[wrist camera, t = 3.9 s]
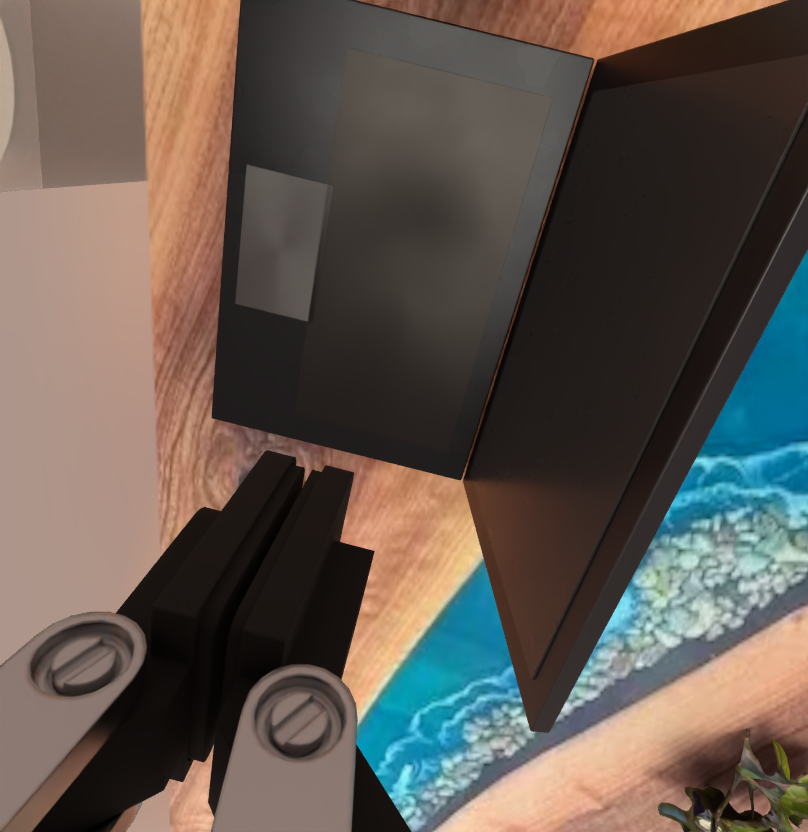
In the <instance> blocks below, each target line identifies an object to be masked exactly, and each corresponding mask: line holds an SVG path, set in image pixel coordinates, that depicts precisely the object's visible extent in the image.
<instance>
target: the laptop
mask: <svg viewBox="0 0 808 832" xmlns="http://www.w3.org/2000/svg"><path fill="white" fill-rule="evenodd" d="M593 63H594V59H593V58H590V57H586V56H582V55H578V54H574V53H569V52H565V51H561V50H557V49H553V48H549V47H545V46H541V45H537V44H533V43H529V42H524V41H520V40H516V39H512V38H508V37H504V36H500V35H496V34H492V33H488V32H484V31H479V30H475V29H471V28H467V27H463V26H459V25H455V24H451V23H447V22H443V21H439V20H434V19H430V18H426V17H422V16H418V15H414V14H410V13H406V12H402V11H398V10H394V9H389V8H385V7H381V6H377V5H373V4H369V3H365V2H361V1H357V0H241V2H240V16H239V31H238V45H237V59H236V74H235V88H234V102H233V117H232V131H231V146H230V160H229V174H228V189H227V203H226V217H225V232H224V246H223V261H222V275H221V289H220V304H219V318H218V333H217V347H216V361H215V376H214V390H213V404H212V418H213V419H217V420H221V421H225V422H229V423H233V424H237V425H241V426H245V427H249V428H253V429H257V430H261V431H265V432H269V433H273V434H277V435H281V436H285V437H289V438H293V439H297V440H301V441H305V442H309V443H313V444H317V445H321V446H325V447H329V448H333V449H337V450H341V451H345V452H349V453H353V454H357V455H361V456H365V457H369V458H373V459H377V460H381V461H385V462H389V463H393V464H397V465H401V466H405V467H409V468H413V469H417V470H421V471H425V472H429V473H433V474H437V475H441V476H445V477H449V478H453V479H457V480H461V479H462V476H463V473H464V470H465V467H466V463H467V460H468V457H469V454H470V451H471V448H472V445H473V441H474V438H475V435H476V432H477V429H478V426H479V422H480V419H481V416H482V413H483V410H484V407H485V404H486V400H487V397H488V394H489V391H490V388H491V385H492V381H493V378H494V375H495V372H496V369H497V366H498V363H499V359H500V356H501V353H502V350H503V347H504V344H505V341H506V337H507V334H508V331H509V328H510V325H511V322H512V318H513V315H514V312H515V309H516V306H517V303H518V300H519V296H520V293H521V290H522V287H523V284H524V281H525V277H526V274H527V271H528V268H529V265H530V262H531V259H532V255H533V252H534V249H535V246H536V243H537V240H538V236H539V233H540V230H541V227H542V224H543V221H544V218H545V214H546V211H547V208H548V205H549V202H550V199H551V196H552V192H553V189H554V186H555V183H556V180H557V177H558V173H559V170H560V167H561V164H562V161H563V158H564V155H565V151H566V148H567V145H568V142H569V139H570V136H571V132H572V129H573V126H574V123H575V120H576V117H577V114H578V110H579V107H580V104H581V101H582V98H583V95H584V91H585V88H586V85H587V82H588V79H589V76H590V73H591V69H592V66H593Z"/></svg>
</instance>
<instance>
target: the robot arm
mask: <svg viewBox="0 0 808 832" xmlns="http://www.w3.org/2000/svg"><path fill="white" fill-rule="evenodd" d="M304 473H305V469H304V468H303V467H300V466H296V458H295V457H292V456H288V455H284V454H280V453H276V452H272V451H268V450H267V451H265V452H264V453H263V455H262V456H261V458H260V459H259V460H258V462H257V463H256V464H255V466H254V467H253V468H252V470H251V471H250V473H249V474H248V475H247V477H246V478H245V479H244V481H243V482H242V484H241V485H240V486H239V488H238V489H237V490H236V492H235V493H234V494H233V496H232V497H231V499H230V500H229V501H228V503H227V504H226V505H225V507H224V508H223V509H222V511H218V510H214V509H210V508H207V507H203V508H201V509H199V510H198V511H197V512H196V513H195V515H194V516H193V517H192V518H191V520H190V521H189V522H188V523H187V525H186V526H185V527H184V528H183V530H182V531H181V532H180V533H179V535H178V536H177V537H176V538H175V540H174V541H173V542H172V543H171V545H170V546H169V547H168V548H167V550H166V551H165V552H164V553H163V555H162V556H161V557H160V558H159V560H158V561H157V563H155V565H154V566H153V567H152V568H151V570H150V571H149V572H148V574H147V575H146V576H145V577H144V578H143V580H142V581H141V582H140V583H139V585H138V586H137V587H136V589H135V590H134V591H133V592H132V593H131V595H130V596H129V597H128V599H127V600H126V601H125V602H124V604H123V605H122V606H121V607H120V609H119V610H118V611H117V612H116V613H112V612H87V613H82V614H78V615H73V616H70V617H68V618H65V619H63V620H60V621H58V622H56V623H53V624H52V625H50V626H49V627H47V628H46V629H44V630H43V631H41V632H40V633H39V634H37V635H36V636H34V637H33V638H32V639H31V640H30V641H29V642H27V643H26V644H25V645H24V646H23V647H22V648H21V649H19V650H18V651H17V652H16V653H15V654H14V655H12V656H11V657H10V658H9V659H8V660H6V661H5V662H4V663H3V664H2V665H0V832H126V831H127V829H128V828H129V827H130V825H131V824H132V822H133V821H134V819H135V817H136V815H137V813H138V811H139V809H140V807H141V805H142V801H144V800H146V799H148V798H150V797H152V796H154V795H156V794H157V793H159V792H161V791H163V790H164V789H165V787H166V785H167V783H168V781H169V779H172V780H176V781H180V782H183V781H184V779H185V777H186V775H187V773H188V771H189V769H190V767H191V765H192V762H193V760H197V761H201V762H205V761H206V759H207V758H208V756H209V754H210V752H211V750H212V747H213V745H214V751H213V760H212V770H211V780H210V789H209V799H208V803H209V805H210V808H211V810H212V813H213V815H214V821H213V825H212V829H211V832H411V830H410V829H409V827H408V825H407V824H406V822H405V821H404V819H403V818H402V816H401V814H400V813H399V811H398V810H397V808H396V806H395V805H394V803H393V802H392V800H391V799H390V797H389V795H388V794H387V792H386V791H385V789H384V787H383V786H382V784H381V783H380V781H379V780H378V778H377V776H376V775H375V773H374V772H373V770H372V768H371V767H370V765H369V764H368V762H367V760H366V759H365V757H364V756H363V754H362V753H361V751H360V749H359V748H358V746H357V745H356V739H357V721H358V719H357V710H356V703H355V701H354V699H353V696H352V694H351V692H350V690H349V688H348V687H347V686H346V685H345V684H344V683H343V682H342V680H341V679H342V675H343V672H344V668H345V664H346V660H347V657H348V653H349V649H350V645H351V641H352V638H353V634H354V630H355V626H356V622H357V618H358V615H359V611H360V607H361V603H362V599H363V595H364V591H365V587H366V583H367V579H368V575H369V571H370V567H371V563H372V559H373V555H374V551H372V550H368V549H365V548H361V547H357V546H353V545H349V544H345V543H341V542H340V539H341V534H342V529H343V524H344V520H345V515H346V510H347V506H348V501H349V496H350V492H351V487H352V482H353V477H354V472H350V471H346V470H342V469H338V468H334V467H331V466H327V465H326V466H325V467H324V469H323V470H322V472H319V471H315V470H312V471H311V473H310V475H309V477H308V479H307V480H306V482H305V484H304V486H303V480H304ZM302 486H303V488H302Z"/></svg>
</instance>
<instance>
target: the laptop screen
mask: <svg viewBox="0 0 808 832" xmlns="http://www.w3.org/2000/svg"><path fill="white" fill-rule="evenodd" d="M807 250H808V0H787V1H784V2H781V3H778V4H775V5H771V6H768V7H765V8H762V9H759V10H755V11H752V12H749V13H746V14H742V15H739V16H736V17H733V18H730V19H726V20H723V21H720V22H717V23H714V24H710V25H707V26H704V27H701V28H697V29H694V30H691V31H688V32H685V33H681V34H678V35H675V36H672V37H669V38H665V39H662V40H659V41H656V42H652V43H649V44H646V45H643V46H640V47H636V48H633V49H630V50H627V51H624V52H620V53H617V54H614V55H611V56H607V57H604V58H601V59H598V60H597V63H596V66H595V69H594V72H593V75H592V79H591V82H590V85H589V88H588V91H587V94H586V97H585V100H584V104H583V107H582V110H581V113H580V116H579V119H578V122H577V126H576V129H575V132H574V135H573V138H572V141H571V144H570V147H569V151H568V154H567V157H566V160H565V163H564V166H563V169H562V173H561V176H560V179H559V182H558V185H557V188H556V191H555V194H554V198H553V201H552V204H551V207H550V210H549V213H548V216H547V220H546V223H545V226H544V229H543V232H542V235H541V238H540V241H539V245H538V248H537V251H536V254H535V257H534V260H533V263H532V266H531V270H530V273H529V276H528V279H527V282H526V285H525V288H524V292H523V295H522V298H521V301H520V304H519V307H518V310H517V313H516V317H515V320H514V323H513V326H512V329H511V332H510V335H509V339H508V342H507V345H506V348H505V351H504V354H503V357H502V360H501V364H500V367H499V370H498V373H497V376H496V379H495V382H494V386H493V389H492V392H491V395H490V398H489V401H488V404H487V407H486V411H485V414H484V417H483V420H482V423H481V426H480V429H479V433H478V436H477V439H476V442H475V445H474V448H473V451H472V454H471V458H470V461H469V464H468V467H467V470H466V473H465V476H464V479H463V483H464V487H465V491H466V494H467V498H468V502H469V505H470V509H471V513H472V517H473V520H474V524H475V528H476V531H477V535H478V539H479V542H480V546H481V550H482V553H483V557H484V561H485V565H486V568H487V572H488V576H489V579H490V583H491V587H492V590H493V594H494V598H495V602H496V605H497V609H498V613H499V616H500V620H501V624H502V627H503V631H504V635H505V638H506V642H507V646H508V650H509V653H510V657H511V661H512V664H513V668H514V672H515V675H516V679H517V683H518V687H519V690H520V694H521V698H522V701H523V705H524V709H525V712H526V716H527V720H528V723H529V727H530V730H531V731H533V732H545V733H549V732H550V730H551V728H552V727H553V725H554V723H555V721H556V719H557V717H558V715H559V713H560V712H561V710H562V708H563V706H564V704H565V702H566V700H567V698H568V697H569V695H570V693H571V691H572V689H573V687H574V685H575V683H576V682H577V680H578V678H579V676H580V674H581V672H582V670H583V669H584V667H585V665H586V663H587V661H588V659H589V657H590V655H591V654H592V652H593V650H594V648H595V646H596V644H597V642H598V640H599V639H600V637H601V635H602V633H603V631H604V629H605V627H606V626H607V624H608V622H609V620H610V618H611V616H612V614H613V612H614V611H615V609H616V607H617V605H618V603H619V601H620V599H621V597H622V596H623V594H624V592H625V590H626V588H627V586H628V584H629V583H630V581H631V579H632V577H633V575H634V573H635V571H636V569H637V568H638V566H639V564H640V562H641V560H642V558H643V556H644V554H645V553H646V551H647V549H648V547H649V545H650V543H651V541H652V539H653V538H654V536H655V534H656V532H657V530H658V528H659V526H660V525H661V523H662V521H663V519H664V517H665V515H666V513H667V511H668V510H669V508H670V506H671V504H672V502H673V500H674V498H675V496H676V495H677V493H678V491H679V489H680V487H681V485H682V483H683V482H684V480H685V478H686V476H687V474H688V472H689V470H690V468H691V467H692V465H693V463H694V461H695V459H696V457H697V455H698V453H699V452H700V450H701V448H702V446H703V444H704V442H705V440H706V438H707V437H708V435H709V433H710V431H711V429H712V427H713V425H714V424H715V422H716V420H717V418H718V416H719V414H720V412H721V410H722V409H723V407H724V405H725V403H726V401H727V399H728V397H729V395H730V394H731V392H732V390H733V388H734V386H735V384H736V382H737V381H738V379H739V377H740V375H741V373H742V371H743V369H744V367H745V366H746V364H747V362H748V360H749V358H750V356H751V354H752V352H753V351H754V349H755V347H756V345H757V343H758V341H759V339H760V338H761V336H762V334H763V332H764V330H765V328H766V326H767V324H768V323H769V321H770V319H771V317H772V315H773V313H774V311H775V309H776V308H777V306H778V304H779V302H780V300H781V298H782V296H783V294H784V293H785V291H786V289H787V287H788V285H789V283H790V281H791V280H792V278H793V276H794V274H795V272H796V270H797V268H798V266H799V265H800V263H801V261H802V259H803V257H804V255H805V253H806V251H807Z"/></svg>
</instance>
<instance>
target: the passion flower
mask: <svg viewBox="0 0 808 832" xmlns="http://www.w3.org/2000/svg"><path fill="white" fill-rule="evenodd" d="M749 735H750V730H746V736H745V741H744V749H743V753H742V756H741V762H740V763H739V764H738V765H736V766H735V768H734V770H735V780H734V782H733V783H732V784H731V786H730V788H729V791H728V793H727V795H726V797H725V796H724V794H723V793H722V792H721V791H720V790H718V789H716V788H714V787H712V786H710V785H707V786H706V787H704V788H703V790H702V789H698V788H691V787H685V792H686V794H687V796H688V797H689V798H690V799H691V801H692V806H691V808H690V810H689V811H684V810H681V809H680V808H678V807H677V806H675V805H673V804H670V803H661V804H659V806H658V810H659V813H660V815H662V816H665V817H668V818H670V819H673V820H675V821H677V822H678V823H679V824H680V825H681V827H682V829H683V831H684V832H774V831H773V830H772V828H771V827H773V828H775V829H777V832H795V831H794V830H793V828H792V826H791V825H790V823H789V821H788V818H789V820H790V821H791V822H792V823H793V824H794V825H796V826H797V827H798V828H800V827H799V825H800V824H802V820H803V819H808V773H805V772H804V773H803V775H801V776H799V777H796V778H794V779H793V780H790V769H789V766H788V762H787V756H786V753H785V752H784V750H783V748H782V747H781V746H780V744H779V743H778V742H777V741H776V740H775V739H772V742H773V746H774V750H775V753H776V757H777V763H778V765H777V770H776V772H775V774H774V776H767V775H766V774H765V773H764V772H763V770H762V768H761V766H760V762H759V761H758V759H757V758H756V757H755V756H754V754H753V752H752V750H751V747H750V743H749ZM753 778H755V779H762V780H764V779H765V780H768V781H771V782H773V783H774V784H775V785H776V787H774V788H770V789H769V788H767V787H764V786H761V785H760V784H759V783H758V782H756V781H755V780H754V779H753ZM741 780H746V781H747V783H748V787H749V795H750V800H751V810H747V811H744V812H742V813H740V814H739V813H738V812H736V811H735V810H734V809H733V808H732V806H731V805H730V803H729V800H730V797H731V796H732V793H733V791H734V790H735V789H736V787H737V785H738V784H739V782H740V781H741ZM755 789H758V790H760V791H762V792H763V793H764V794H765V795H766V797H767V798H768V800H769V801H770V804H771V809H770V811H769V812H768V814H766V815H764V816H762V815H761V814H759V813H758V812H756V811H754V804H753V790H755Z"/></svg>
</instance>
